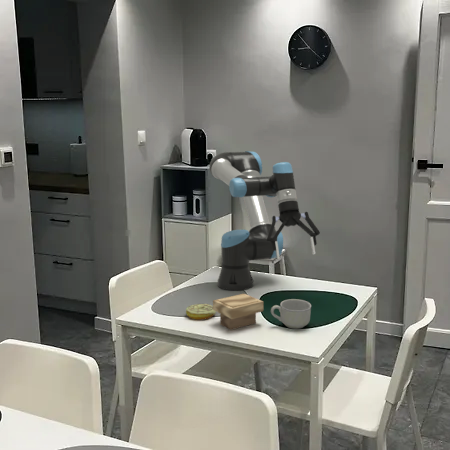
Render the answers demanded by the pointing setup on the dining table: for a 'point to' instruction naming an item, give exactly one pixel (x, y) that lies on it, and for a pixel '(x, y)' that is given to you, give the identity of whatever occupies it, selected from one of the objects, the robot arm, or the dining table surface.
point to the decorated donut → (200, 311)
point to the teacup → (293, 313)
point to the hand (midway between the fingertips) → (296, 256)
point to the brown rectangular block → (237, 321)
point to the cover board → (237, 306)
